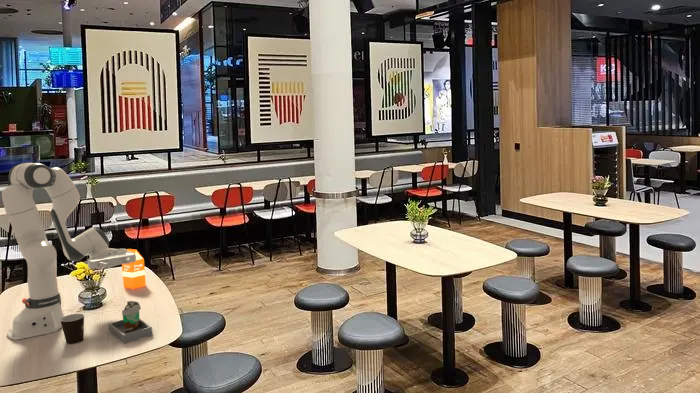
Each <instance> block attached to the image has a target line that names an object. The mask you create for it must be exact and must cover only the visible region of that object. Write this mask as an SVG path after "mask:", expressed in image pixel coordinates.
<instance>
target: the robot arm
mask: <svg viewBox="0 0 700 393" xmlns="http://www.w3.org/2000/svg"><path fill="white" fill-rule="evenodd" d="M8 173H9V174H8V181H7V182H8V183H7V185H8V186H6V187H5V188H3V190H2V192H1V199H2V203H3V207H4V210H5V214H6V215H7V218H8V221H9V222H10V225H11V227H12V230H13V233H14V236H15V239H16V243H17V245H18V248H19V250H20V253H21V255H22V257H23V259H25V261H26V264H27V287H28V288H27V289H28V296H29V297H28V298H26V297H23V298H22V299H21V302H22V303H23V304H24V305H25V307H24V308H23V310H21V311H20V312H18V313H17V315H16V316H15V317H13V320H12V327H11V328H9V329H8V330H7V331H6V335H7V337H8V339H10V340H13V341H15V340H16V341H19V340H22V339H28V338H32V337H38V336H42V335H47V334H53V333H56V332H57V331H58V330H59V329H61V328H62V325H61V321H60V319H61V318H62V317H64V313H63V312H64V311H63V310H62V298H61V293H60V292H59V286H58V285H59V284H58V279H57V278H58V276H57V270H58V268H57V267H58V266H57V264H58V262H57V256H58V254H57V249H56V247H55V246H54V245H53V244H52V243H50V242H49V240H48V238H47V234H46V232H45V228H44V223H43V220H42V217H41V215H40V213H39V210H38V208H37V207H38V206H36V205H37V204H36V202H35V201H34V197H33V192H34V190H37V189H44V190H45V191H46V192H47V194H48V196H49V197H50V200H51V202H52V209H51V210H50V217H51V220H52V223H53V225H54V228H55V231H56V233H57V236H58V238H59V239H58V240H59V241H60V244H61V247H62V251H63V254H64V256H65V257H66V259H67V260H69V261H71V262H79V261H81V260H82V259H83V258H85V257H86V256H89V258H87V259H86V260H84V262H83V263H84V264H85V265H87V268H88V269H90V270H94V269H101V268H103V269H111V268H113V267H115V266H116V267H117V266H119V265H122V264H130V263H132V262H136V255H135V254H134V253H133V252H130V251H127V249H128V248H127V249H126V248H111V247H109V246H110V240H109V238H108V236H107V235H106V234H105V232H104V231H103V230H102V229H101V228H98V227H89V228H88V229H87V230H85V231H83V232H82V233H80V234H79V235H77V236H75V237H74V238H71V236H70V233H69V230H68V227H67V225H66V223H67V219H68V217H69V216H70V215H71V213H73V211H74V210H75V209H76V207H77V206H78V204H79V203H80V198H81V196H80V192H79V190H78V189H77V187H76V185H75V183H74V182H73V180H72V179H71V177H70V176H69V174H67V173H66V171H64V169H62V168H61V167H51V168H50V167H49V166H47V165H45V164H44V163H40V162H34V163H33V162H24V163H18V164H15V165H14V166H13V167H11V168H10V169H9V172H8Z"/></svg>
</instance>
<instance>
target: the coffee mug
mask: <svg viewBox="0 0 700 393" xmlns="http://www.w3.org/2000/svg"><path fill="white" fill-rule="evenodd" d="M60 321H61V325H62V327H61V328H62V332H63V335H64V339H65V343H66V344H67V345H77V344H79V343H82V342H83V341H84V340H85V339H84V338H85V333H84V332H85V328H84V327H85V315H84V314H83V313H72V314H67V315H65V316H64V317H62V318H61V319H60Z"/></svg>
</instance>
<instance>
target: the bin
mask: <svg viewBox="0 0 700 393" xmlns="http://www.w3.org/2000/svg"><path fill="white" fill-rule="evenodd" d="M139 319H140V327H139V328H138V329H137V330H134V331H131V332H126V333H125V328H124V321H123V319H122V320H117V321H113V322H110V323H108V325H107V326H108V332H109V333H110V334H111V335H113V336H114V337H115V338H116V339H118V340H119V341H120V342H122V344H124V345H125V344H127V343H130V342H134V341H137V340H140V339H143V338H148V337H151V336H153V328H152V327H153V326H151V325H149V324H148V323H146V322H145V321H144V320H142V319H141V318H139Z"/></svg>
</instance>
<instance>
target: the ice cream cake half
mask: <svg viewBox="0 0 700 393" xmlns="http://www.w3.org/2000/svg"><path fill="white" fill-rule="evenodd" d="M126 303H127V304H126V305H125V306H124V309H122V311H121V314H122V320H123V321H124V328H125V333H126V332H131V331H134V330H137V329H138V328H139V327H140V319H141V318H140V311H141V305H140V303H139V302H138V301H135V300H134V301H133V300H128V301H127V302H126Z"/></svg>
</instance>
